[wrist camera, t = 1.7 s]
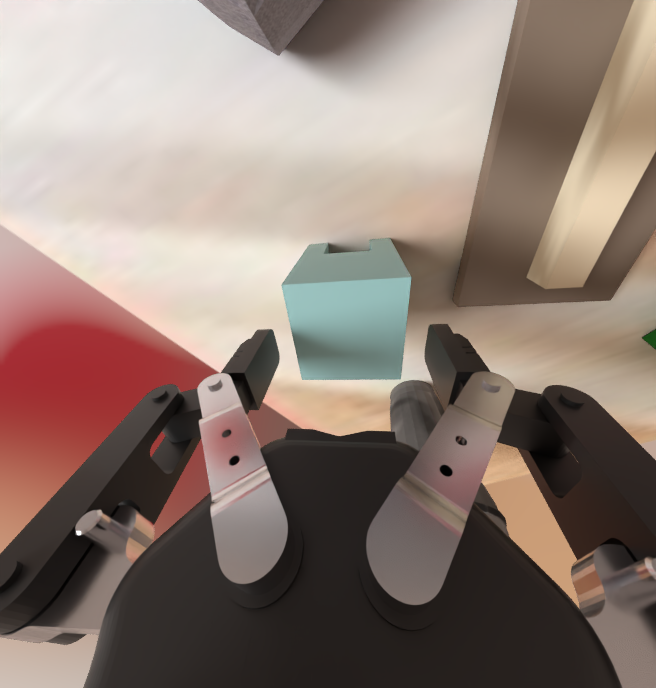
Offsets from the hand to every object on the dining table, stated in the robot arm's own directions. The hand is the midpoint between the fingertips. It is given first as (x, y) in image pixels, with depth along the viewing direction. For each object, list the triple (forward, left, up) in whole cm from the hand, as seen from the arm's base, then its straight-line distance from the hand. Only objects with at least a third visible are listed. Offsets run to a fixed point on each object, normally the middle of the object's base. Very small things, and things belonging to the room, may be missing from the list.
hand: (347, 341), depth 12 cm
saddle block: (0, 0, -8) cm, 8 cm away
